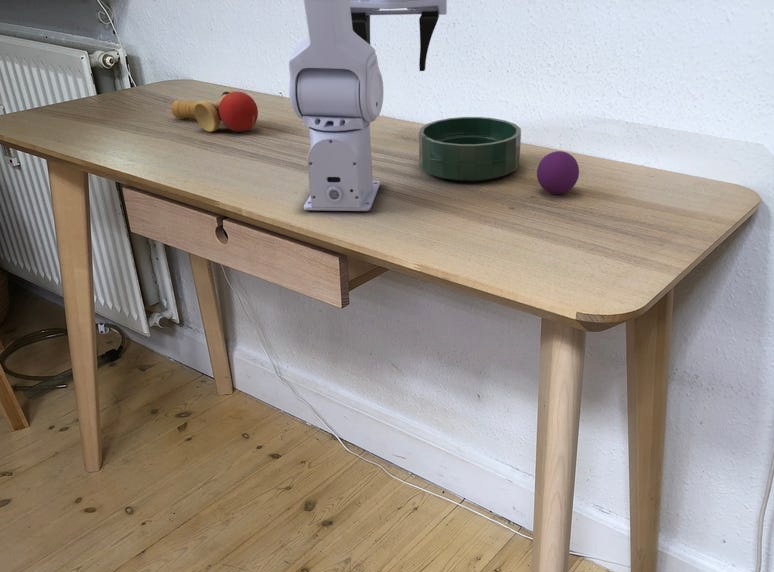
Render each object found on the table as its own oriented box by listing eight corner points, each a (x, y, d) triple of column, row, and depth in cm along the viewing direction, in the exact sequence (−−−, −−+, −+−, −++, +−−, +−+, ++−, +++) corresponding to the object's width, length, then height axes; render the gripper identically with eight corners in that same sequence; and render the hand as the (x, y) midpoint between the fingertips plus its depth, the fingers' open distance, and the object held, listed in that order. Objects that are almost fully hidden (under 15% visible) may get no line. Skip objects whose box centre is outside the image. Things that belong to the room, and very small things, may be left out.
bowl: (519, 185, 95) (521, 145, 93) (415, 184, 97) (414, 145, 94) (518, 152, 106) (520, 116, 104) (424, 152, 108) (423, 116, 105)
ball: (578, 200, 90) (582, 158, 88) (536, 199, 91) (539, 158, 88) (575, 185, 95) (579, 145, 92) (534, 185, 95) (537, 145, 92)
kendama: (160, 132, 125) (233, 133, 115) (155, 92, 123) (228, 88, 113) (198, 130, 131) (270, 130, 120) (194, 91, 129) (267, 88, 118)
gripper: (447, -41, 104) (447, 63, 111) (343, -39, 105) (349, 64, 112) (445, -36, 98) (445, 73, 105) (334, -34, 99) (342, 75, 107)
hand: (395, 70), depth 108 cm, fingers open, 7 cm apart
